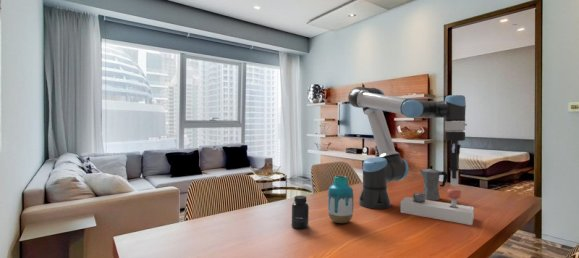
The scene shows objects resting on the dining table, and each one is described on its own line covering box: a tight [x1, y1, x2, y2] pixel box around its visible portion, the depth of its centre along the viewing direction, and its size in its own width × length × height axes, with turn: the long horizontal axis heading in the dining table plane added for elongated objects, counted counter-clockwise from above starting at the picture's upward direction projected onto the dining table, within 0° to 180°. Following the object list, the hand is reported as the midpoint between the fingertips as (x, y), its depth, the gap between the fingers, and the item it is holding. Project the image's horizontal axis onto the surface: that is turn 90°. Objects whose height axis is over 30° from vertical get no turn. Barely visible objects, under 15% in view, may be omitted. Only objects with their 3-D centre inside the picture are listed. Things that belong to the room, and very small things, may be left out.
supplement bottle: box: [291, 195, 310, 230], centre depth 113 cm, size 7×7×12 cm
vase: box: [327, 175, 354, 224], centre depth 118 cm, size 11×11×19 cm
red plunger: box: [447, 188, 462, 209], centre depth 122 cm, size 5×5×8 cm
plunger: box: [412, 192, 426, 203], centre depth 131 cm, size 5×5×8 cm
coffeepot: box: [419, 165, 449, 201], centre depth 154 cm, size 15×9×18 cm, turn 37°
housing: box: [400, 196, 475, 226], centre depth 127 cm, size 28×10×5 cm, turn 54°
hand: (454, 185), depth 122 cm, fingers closed
